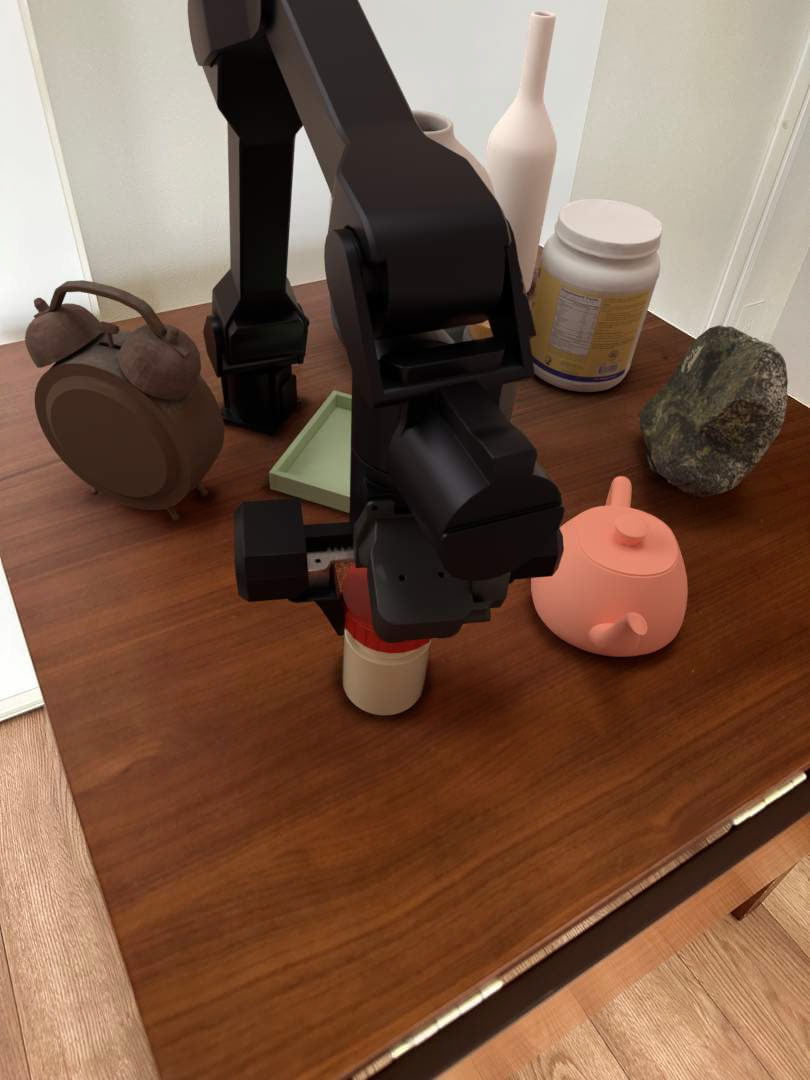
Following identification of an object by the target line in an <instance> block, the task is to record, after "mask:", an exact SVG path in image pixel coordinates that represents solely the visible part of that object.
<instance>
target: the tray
mask: <svg viewBox="0 0 810 1080" xmlns="http://www.w3.org/2000/svg"><path fill="white" fill-rule="evenodd" d="M351 404H352V394H350V393H346V392H342V391H338V390H335V389H334V390H333V391H332V392H331V393H329V395H328V397H327V398H326V399H325V401H324V402H323V403H322V404H321V406H320V407H319V408H318V409H317V411H316V412H315V413H314V415H313V416H312V417H311V418H310V419H309V421H308V422H307V423H306V424H305V426H304V427H303V429H301V431H300V432H299V433H298V435H296V438H295V439H294V440H293V441H292V443H290V445H289V446H288V447H287V449H286V450H285V452H284V453H283V454H282V455H281V456H280V458H279V459H278V460H277V461H276V462H275V464H274V465H273V467H272V468H271V469H270V471H268V478H269V480H268V481H269V488H270V490H272V491H276V492H279V493H281V494H282V493H283V494H285V495H289V496H292V497H294V498H301V500H305V501H309V502H311V503H315V504H318V505H320V506H321V505H322V506H325V507H328V508H331V509H335V510H337V511H341V512H345V513H348V514H350V458H351Z"/></svg>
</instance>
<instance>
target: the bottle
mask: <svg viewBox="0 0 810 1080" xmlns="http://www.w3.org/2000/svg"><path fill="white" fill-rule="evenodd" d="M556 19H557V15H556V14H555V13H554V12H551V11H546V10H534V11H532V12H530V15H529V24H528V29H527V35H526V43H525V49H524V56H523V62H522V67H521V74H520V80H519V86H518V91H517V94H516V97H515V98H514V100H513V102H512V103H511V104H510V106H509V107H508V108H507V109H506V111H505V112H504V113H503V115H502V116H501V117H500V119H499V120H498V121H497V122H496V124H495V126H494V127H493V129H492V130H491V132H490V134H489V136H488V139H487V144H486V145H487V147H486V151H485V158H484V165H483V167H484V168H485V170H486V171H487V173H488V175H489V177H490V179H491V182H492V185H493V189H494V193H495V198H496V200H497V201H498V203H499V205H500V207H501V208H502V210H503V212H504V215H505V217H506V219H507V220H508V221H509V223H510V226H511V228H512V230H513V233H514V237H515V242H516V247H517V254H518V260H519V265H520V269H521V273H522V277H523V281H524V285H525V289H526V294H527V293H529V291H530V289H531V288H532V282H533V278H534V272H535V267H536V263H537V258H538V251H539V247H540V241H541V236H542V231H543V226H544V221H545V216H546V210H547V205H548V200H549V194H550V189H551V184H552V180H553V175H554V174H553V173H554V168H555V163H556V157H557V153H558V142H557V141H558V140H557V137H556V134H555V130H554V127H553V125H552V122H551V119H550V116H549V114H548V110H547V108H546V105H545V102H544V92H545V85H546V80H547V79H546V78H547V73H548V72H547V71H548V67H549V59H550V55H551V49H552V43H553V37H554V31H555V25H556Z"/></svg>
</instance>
